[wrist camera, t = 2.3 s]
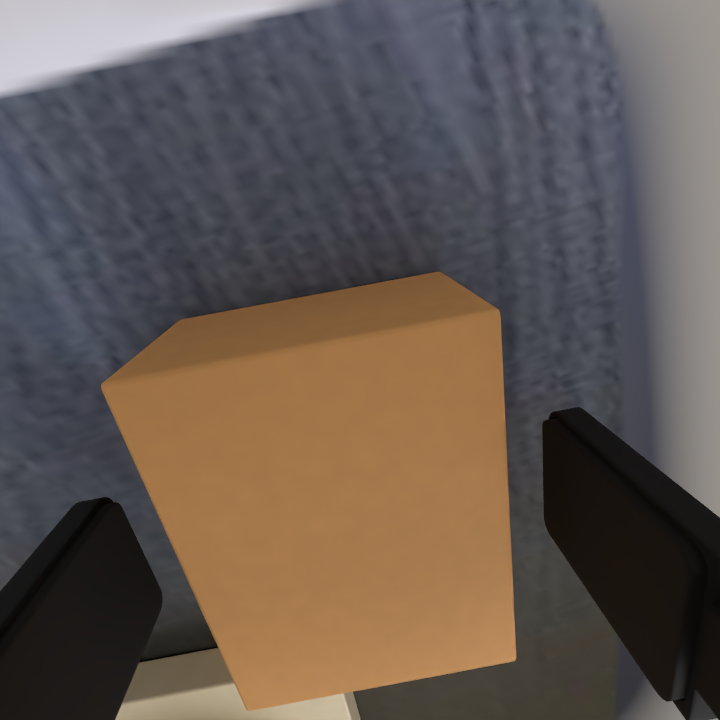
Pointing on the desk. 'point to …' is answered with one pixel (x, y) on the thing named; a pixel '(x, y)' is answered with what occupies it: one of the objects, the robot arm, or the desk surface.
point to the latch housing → (212, 694)
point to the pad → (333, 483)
